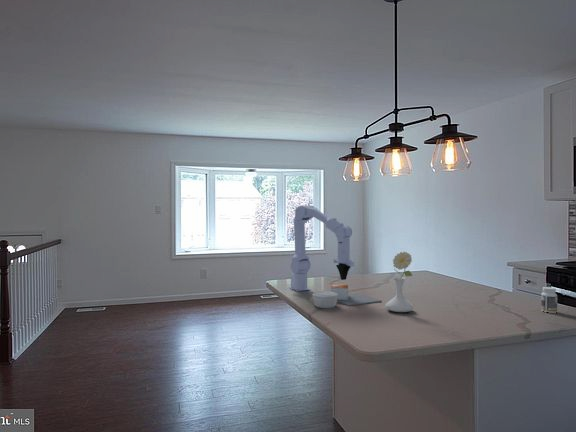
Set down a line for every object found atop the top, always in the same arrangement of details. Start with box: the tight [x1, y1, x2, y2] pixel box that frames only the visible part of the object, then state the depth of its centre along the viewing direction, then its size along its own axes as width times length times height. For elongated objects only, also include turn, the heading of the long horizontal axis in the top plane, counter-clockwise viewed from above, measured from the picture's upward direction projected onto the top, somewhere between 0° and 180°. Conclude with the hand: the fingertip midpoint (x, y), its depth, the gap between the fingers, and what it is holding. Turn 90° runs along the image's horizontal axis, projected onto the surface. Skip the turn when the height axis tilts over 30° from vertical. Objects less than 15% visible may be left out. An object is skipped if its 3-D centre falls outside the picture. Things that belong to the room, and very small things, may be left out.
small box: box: [330, 283, 349, 300], centre depth 189 cm, size 8×6×10 cm
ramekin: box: [312, 290, 338, 309], centre depth 176 cm, size 11×11×5 cm
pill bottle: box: [540, 286, 558, 314], centre depth 167 cm, size 6×6×10 cm
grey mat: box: [337, 292, 382, 307], centre depth 188 cm, size 18×18×1 cm
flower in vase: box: [384, 251, 415, 313], centre depth 167 cm, size 13×11×25 cm
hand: (343, 279), depth 194 cm, fingers closed
